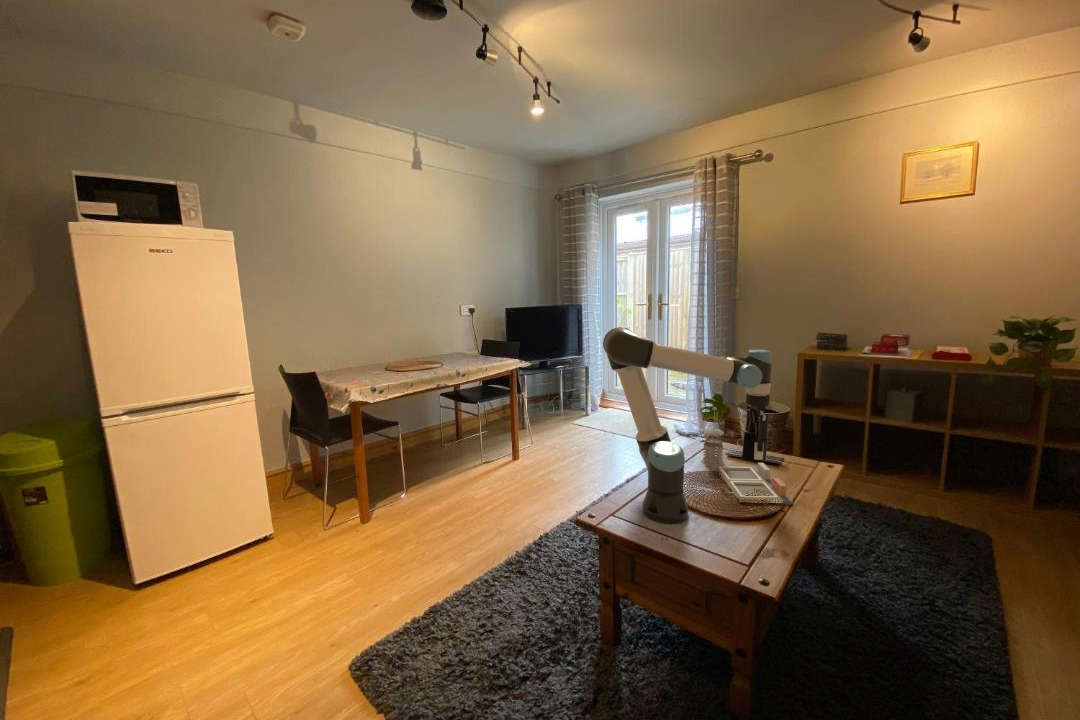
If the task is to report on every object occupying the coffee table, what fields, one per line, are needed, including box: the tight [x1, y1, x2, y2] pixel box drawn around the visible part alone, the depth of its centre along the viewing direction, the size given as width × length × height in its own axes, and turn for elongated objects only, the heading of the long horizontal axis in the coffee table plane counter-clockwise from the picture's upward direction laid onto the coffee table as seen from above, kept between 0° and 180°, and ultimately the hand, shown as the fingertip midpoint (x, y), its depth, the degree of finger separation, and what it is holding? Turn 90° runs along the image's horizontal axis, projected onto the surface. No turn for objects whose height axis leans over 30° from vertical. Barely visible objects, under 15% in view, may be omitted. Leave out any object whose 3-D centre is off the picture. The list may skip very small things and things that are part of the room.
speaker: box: [741, 431, 769, 464], centre depth 156 cm, size 8×6×10 cm
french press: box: [700, 406, 726, 468], centre depth 187 cm, size 10×12×25 cm
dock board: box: [715, 462, 794, 505], centre depth 166 cm, size 18×28×5 cm, turn 174°
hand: (754, 455), depth 157 cm, fingers closed on speaker, 6 cm apart
